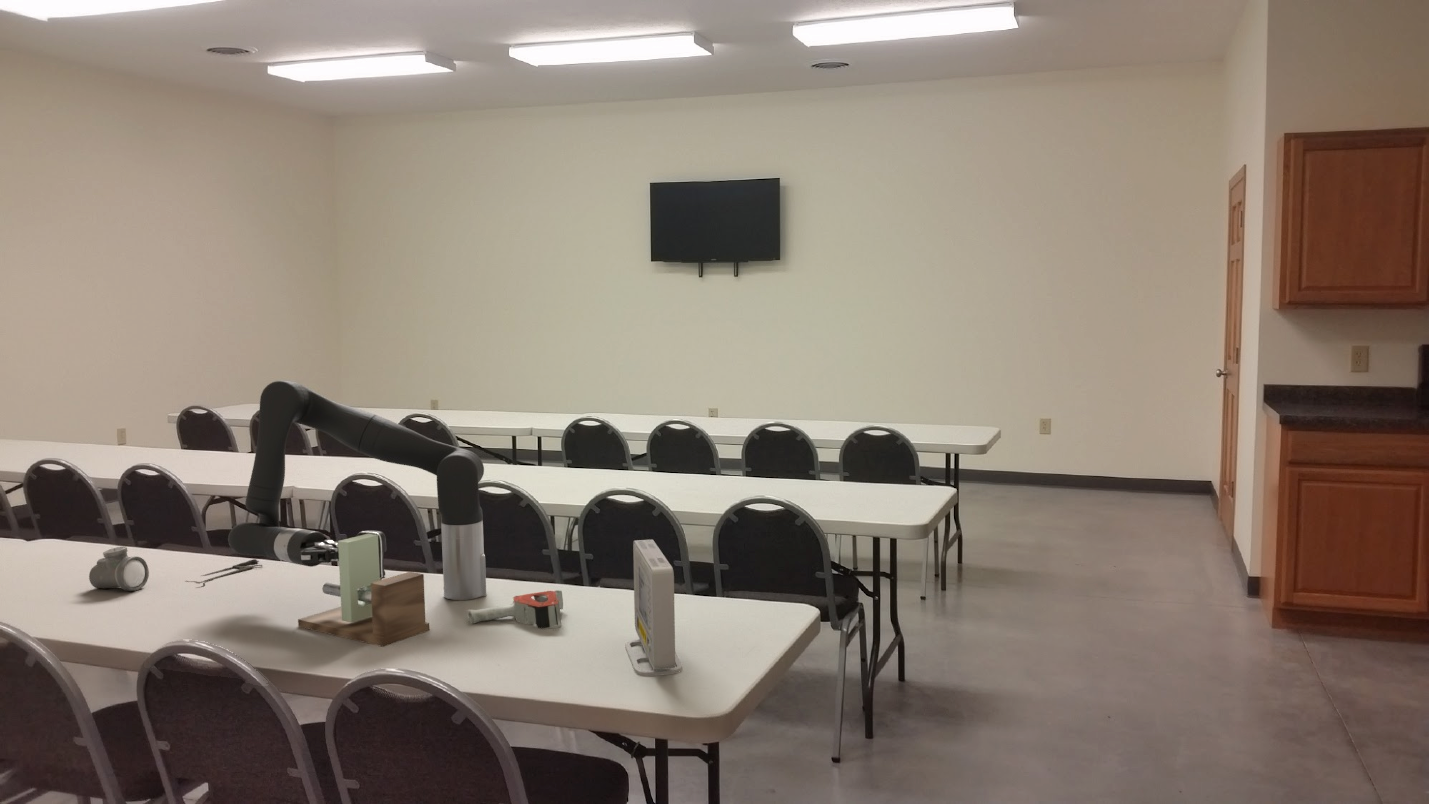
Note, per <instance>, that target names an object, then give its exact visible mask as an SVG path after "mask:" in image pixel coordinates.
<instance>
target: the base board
mask: <svg viewBox="0 0 1429 804" xmlns="http://www.w3.org/2000/svg"><path fill="white" fill-rule="evenodd" d="M371 598H372V616H371V617H368V618H365V619H362V620H358V621H355V622H352V623H351V622H346V621H342V612H341V606H337V607H334V608H332V609H327V610H325V611H321V612H318V613H314V614H312V615H309V616H308V615H307V616H305V617H302V618H301V617H300V618H298V619H297V622H298V625H297V626H298V627H300V628H303V629H308V630H311V629H312V630H311V631H315V632H321V633H326V634H329V635H333V636H337V637H342V638H345V639H349V640H353V641H358V642H362V643H365V644H369V645H370V644H371V645H374V646H378V647H384V648H385V647H386V646H389V645H392V644H394V643H397V642H400V641H403V640H405V639H409V638H411V637H415V636H417V635H420V634H422V633H426V632H428V631H430V622H426V605H425V604H426V602H425V599H426V598H425V577H424V573H421V572H420V573H419V572H413V571H407V572H405V573H400V574H396V575H394V576H389V577H386V578H384V579H380V580H379V581H376V582H373V583H371Z"/></svg>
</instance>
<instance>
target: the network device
mask: <svg viewBox="0 0 1429 804" xmlns="http://www.w3.org/2000/svg"><path fill="white" fill-rule="evenodd" d="M632 544H633V545H632V546H633V549H632V550H633V553H632V554H633V558H632V559H633V596H634V598H633V600H634V607H633V609H634V627H635V632H636V634H637V636H638V639H633V640H629V641H627V642H626V643H625V645H624V646H625V647H624V648H625V651H626V653H627V657H628V659H629V661H630V663H631V666H632V669H633V671H634V673H635V674H637V675H639V676H643V677H644V676H645V677H653V676H654V675H655V676H663V675H662V674H666V675H672V674H678V673H679V671H680V672H681V671H683V664H682V662H681V660H680V658H679V657H678V654H677V653H676V629H675V628H676V625H675V623H676V622H675V617H676V615H675V576H674V575H675V574H674V569H673V566H672V565H671V564H670V562H669V561H668V559H667V557H666V556H665V555H664V554H663V552H662V550H661V549H660V548H659V546H658V545H657V543H656V542H655V541H654V539H641V540H640V539H639V540H638V539H637V540H633V542H632ZM637 645H640V646H642V647H643V649H644V652H634V650H633V648H632V646H637ZM648 661H649V663H650V665H651V667H652V669H649V670H647V669H645V670H644V669H641V668H640V665H639V663H640V662H648Z"/></svg>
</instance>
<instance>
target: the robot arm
mask: <svg viewBox="0 0 1429 804" xmlns="http://www.w3.org/2000/svg"><path fill="white" fill-rule="evenodd" d="M258 416H259V417H258V430H257V432H258V433H257V441H256V449H255V456H254V460H253V466H252V471H251V475H250V480H249V482H248V483H249V484H248V487H247V492H246V498H245V503H244V504H245V505H244V506H245V508H246V510H248V511H249V512H252V513H255V514H257V515H258V519H259V520H258V521H259V522H247V521H246V522H240V523H237V524H236V525H234V526H233V527H232V528H231V529H230V531H229V533H228V536H227V537H228V538H227V540H228V545H229V547H230V549H231V550H232V551H233V552H235V553H236V554H238V555H245V556H256V557H257V556H258V557H268V558H271V559H274V560H280V561H284V562H286V563H290V564H295V565H299V566H306V567H310V568H311V567H317V566H319V565H321V564H324V563H325V564H326V563H327V564H328V563H332V562H339V550H338V541H334V540H333V539H328V538H327V537H326V535H325V534H324V533H322V532H320V531H318V530H317V531H315V530H310V529H305V528H298V527H297V528H291V527H284V526H280V508H279V507H280V502H281V497H282V494H283V490H284V489H283V488H284V483H285V478H286V477H285V476H286V445H287V440H288V436H289V432H290V429H291V427H292V424H294V423H295V424H299V425H302V426H306V427H309V428H312V429H315V430H318V431H321V432H323V433H325V434H327V435H328V436H330V437H332V438H333V439H335V440H336V441H338V442H339V443H341V444H342V445H344V446H345V447H348V448H349V449H352V450H353V451H356V452H357V453H360V454H363V455H366V456H367V457H370V458H373V459H375V460H378V461H382V462H386V463H391V464H396V465H399V466H400V465H402V466H407V467H413V468H417V469H420V470H423V471H426V472H428V473H430V474H433V476H436V492H437V506H438V507H437V508H438V511H439V514H440V521H441V522H440V523H441V525H440V526H441V547H442V548H441V549H442V569H443V570H442V573H443V574H442V576H443V579H442V581H443V597H444V598H445V599H448V600H453V601H465V600H466V601H467V600H472V599H474V600H475V599H478V598H481V597H486V596H487V577H486V574H487V571H486V555H485V551H484V550H485V549H484V546H485V545H484V524H483V523H484V522H483V519H484V517H483V509H482V507H481V504H480V491H479V489H480V488H479V482H480V481H481V480H482V479H483V476H484V473H485V467H484V463H483V461H482V459H481V458H480V457H479V456H478V454H476V453H474V452H473V451H471V450H468V449H465V448H461V447H457V446H455V445H450V444H447V443H443V442H440V441H437V440H433V439H432V438H430V437H427V436H425V435H423V434H420V433H419V432H416V431H415V430H412V429H410V428H407V427H406V426H404V425H401V424H399V423H397V422H394V421H392V420H389V419H387V418H385V417H382V416H379V415H377V414H375V413H371V412H369V411H366V410H362V409H359V408H357V407H352V406H350V405H346V404H342V403H338V402H336V401H333V400H332V399H330V398H328V397H325V396H324V395H322V394H320V393H317V392H315V391H313V390H312V389H311V388H310V389H309V387H307V386H305V385H303V384H301V383H299V382H296V381H291V380H290V381H289V380H275V381H272V382H270V383H268V384H267V385H266V386H265V387H264V389H263V390H262V392H261V394H260V399H259V413H258Z"/></svg>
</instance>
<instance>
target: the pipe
mask: <svg viewBox="0 0 1429 804" xmlns="http://www.w3.org/2000/svg"><path fill="white" fill-rule="evenodd" d="M321 589H322V593H324V594H325V595H330V596H335V597H339V598H341V591H340V583H339V584H338V583H332V582H325V583H324V584H323V586H322V588H321ZM357 591H358V602H367V603H372V598H371V591H369V590H364V588H359V589H357Z"/></svg>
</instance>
